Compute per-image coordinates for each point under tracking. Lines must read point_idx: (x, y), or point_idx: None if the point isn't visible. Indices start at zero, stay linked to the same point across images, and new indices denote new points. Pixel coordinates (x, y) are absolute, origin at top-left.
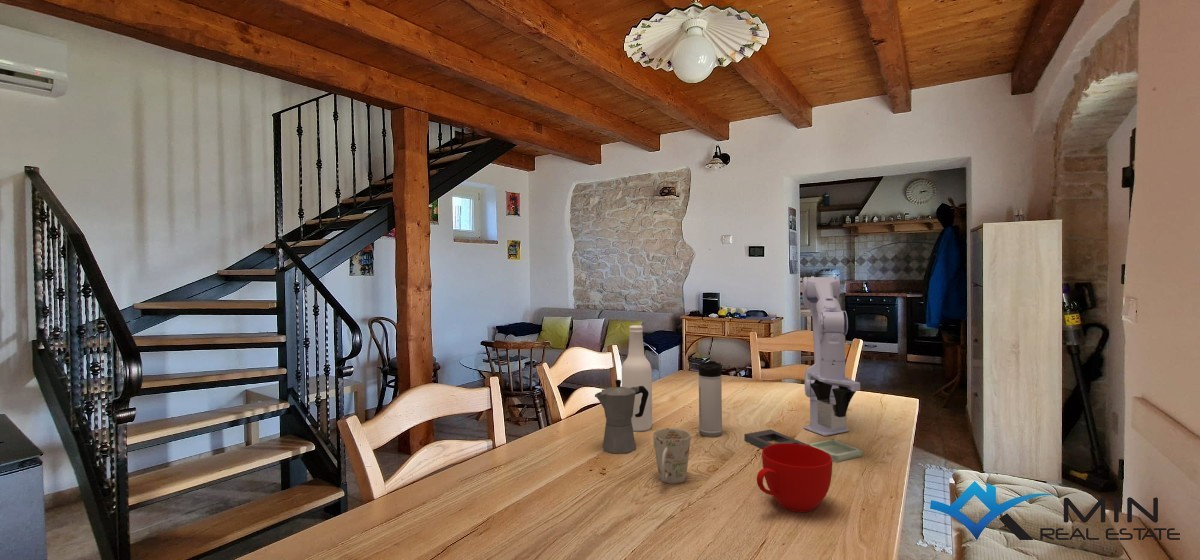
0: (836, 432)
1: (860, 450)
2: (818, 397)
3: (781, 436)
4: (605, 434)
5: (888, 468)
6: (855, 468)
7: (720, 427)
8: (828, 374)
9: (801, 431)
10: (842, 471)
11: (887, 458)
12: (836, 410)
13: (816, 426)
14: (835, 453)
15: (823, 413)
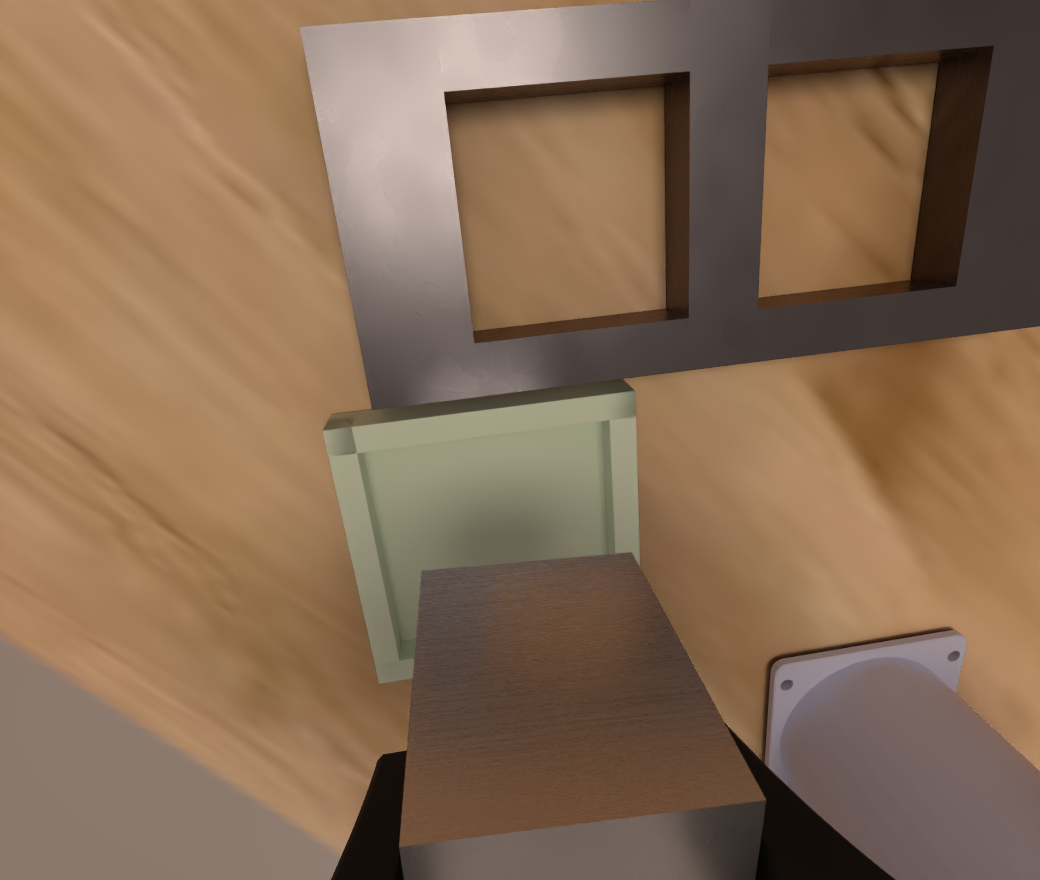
0: (769, 751)
1: (379, 669)
2: (825, 876)
3: (865, 296)
4: None
5: (147, 665)
6: (190, 471)
7: None
8: None
9: (922, 585)
10: (150, 340)
11: (309, 758)
12: (399, 819)
13: (876, 685)
14: (454, 512)
15: (567, 661)
